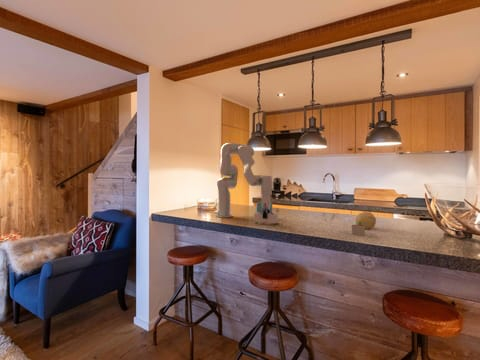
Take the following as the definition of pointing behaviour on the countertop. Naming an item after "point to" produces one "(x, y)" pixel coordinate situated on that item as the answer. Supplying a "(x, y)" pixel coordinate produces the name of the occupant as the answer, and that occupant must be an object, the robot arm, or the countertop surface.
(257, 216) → the power strip
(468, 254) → the countertop surface
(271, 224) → the post plate
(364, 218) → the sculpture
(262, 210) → the data package
